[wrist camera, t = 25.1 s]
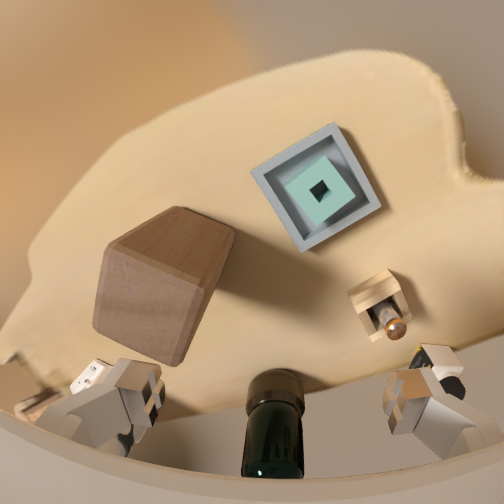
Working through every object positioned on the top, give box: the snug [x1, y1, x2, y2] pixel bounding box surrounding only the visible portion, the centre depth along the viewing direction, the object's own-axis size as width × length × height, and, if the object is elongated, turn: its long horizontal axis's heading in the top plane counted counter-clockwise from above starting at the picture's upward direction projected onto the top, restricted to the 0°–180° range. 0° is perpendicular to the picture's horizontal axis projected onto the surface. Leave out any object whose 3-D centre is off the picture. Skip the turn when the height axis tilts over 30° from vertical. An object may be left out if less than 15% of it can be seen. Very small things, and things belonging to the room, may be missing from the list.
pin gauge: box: [371, 299, 407, 340], centre depth 41 cm, size 3×3×10 cm
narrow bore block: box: [284, 155, 355, 227], centre depth 38 cm, size 6×6×5 cm
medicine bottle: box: [407, 344, 466, 400], centre depth 43 cm, size 7×7×12 cm
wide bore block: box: [347, 269, 413, 342], centre depth 43 cm, size 7×7×5 cm
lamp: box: [241, 370, 305, 479], centre depth 41 cm, size 10×10×22 cm
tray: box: [250, 122, 381, 253], centre depth 40 cm, size 12×12×3 cm
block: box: [92, 206, 236, 367], centre depth 36 cm, size 10×10×20 cm
